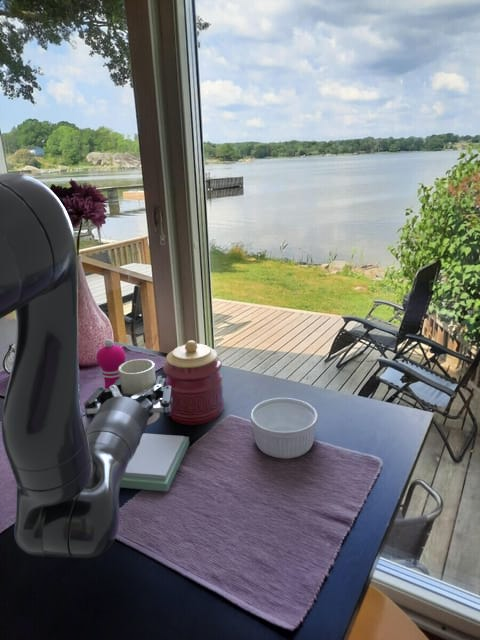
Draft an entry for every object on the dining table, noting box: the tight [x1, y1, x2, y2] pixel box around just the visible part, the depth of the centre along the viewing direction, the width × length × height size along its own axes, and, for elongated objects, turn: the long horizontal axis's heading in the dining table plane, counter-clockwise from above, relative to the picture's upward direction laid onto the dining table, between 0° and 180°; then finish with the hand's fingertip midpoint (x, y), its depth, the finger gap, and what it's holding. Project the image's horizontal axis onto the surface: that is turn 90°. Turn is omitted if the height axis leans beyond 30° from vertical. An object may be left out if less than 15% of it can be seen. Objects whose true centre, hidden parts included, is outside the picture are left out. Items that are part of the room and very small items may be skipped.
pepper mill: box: [96, 338, 127, 389], centre depth 96 cm, size 7×7×20 cm
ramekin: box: [250, 397, 319, 459], centre depth 88 cm, size 13×13×7 cm
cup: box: [118, 358, 161, 426], centre depth 77 cm, size 6×6×10 cm
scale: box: [120, 432, 190, 492], centre depth 84 cm, size 16×14×3 cm
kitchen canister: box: [162, 340, 225, 426], centre depth 99 cm, size 13×13×18 cm
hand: (142, 380), depth 79 cm, fingers closed on cup, 6 cm apart
